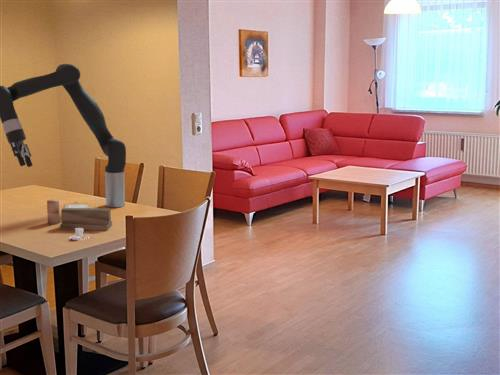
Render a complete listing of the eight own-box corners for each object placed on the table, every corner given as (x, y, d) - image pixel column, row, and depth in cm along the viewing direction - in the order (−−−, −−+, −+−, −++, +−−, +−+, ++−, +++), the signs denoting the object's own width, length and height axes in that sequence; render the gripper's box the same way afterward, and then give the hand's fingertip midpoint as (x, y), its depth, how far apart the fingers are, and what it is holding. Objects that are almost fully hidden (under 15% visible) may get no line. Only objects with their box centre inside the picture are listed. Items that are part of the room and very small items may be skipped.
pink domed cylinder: (49, 221, 274) (48, 199, 272) (61, 221, 274) (60, 199, 272) (46, 224, 269) (45, 201, 267) (57, 224, 269) (57, 202, 267)
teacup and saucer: (74, 242, 243) (74, 232, 242) (63, 238, 248) (63, 229, 247) (93, 238, 250) (93, 228, 249) (82, 234, 255) (81, 225, 254)
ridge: (66, 224, 269) (65, 206, 268) (112, 225, 270) (111, 207, 268) (60, 229, 260) (59, 211, 259) (107, 230, 261) (107, 211, 259)
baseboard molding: (58, 223, 273) (85, 222, 276) (57, 217, 273) (85, 216, 275) (62, 208, 303) (87, 207, 306) (62, 202, 302) (87, 201, 305)
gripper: (16, 126, 261) (29, 162, 261) (27, 129, 275) (40, 163, 275) (-1, 132, 261) (12, 168, 261) (12, 135, 275) (24, 169, 275)
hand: (26, 166), depth 268 cm, fingers open, 8 cm apart
